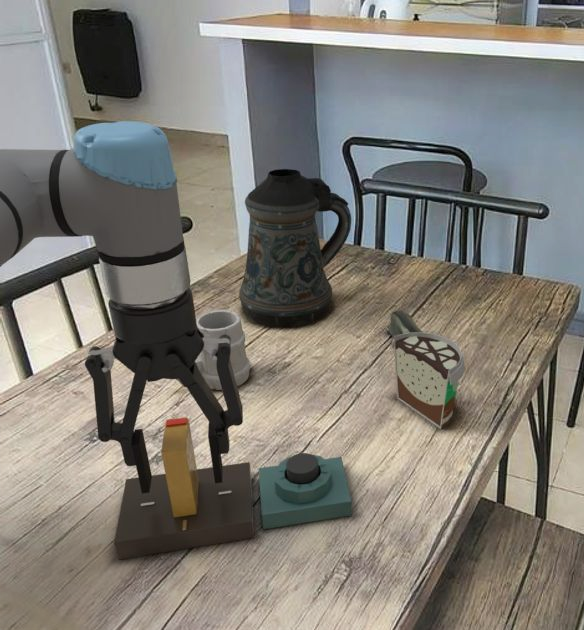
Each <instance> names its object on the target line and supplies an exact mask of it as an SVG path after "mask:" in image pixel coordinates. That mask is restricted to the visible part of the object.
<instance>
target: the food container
mask: <svg viewBox="0 0 584 630" xmlns="http://www.w3.org/2000/svg"><path fill="white" fill-rule="evenodd" d="M391 349H393V351H394V352H393V353H394V368H395V383H396V397H397V400H398V401H399V402H401V403H402V404H404V405H406V406H407V407H409V408H410V409H412V410H413V411H414V412H415V413H417V414H418V415H420V416H421V417H422V418H424V419H425V420H427V421H429V422H430V423H431V424H433V425H434V426H436V427H437V428H438V429H440V430H443V428H445V427H446V426H448V425H449V423H450V422H451V421H452V419H453V415H454V408H455V402H456V397H457V392H458V391H457V390H458V385H459V381H460V380H461V378H462V377H463V376H464V373H465V371H466V364H465V358H464V355H463V352H462V350H461V348H460V346H459V345H458V344H457V343H456V342H455V341H453V340H452V339H450V338H448V337H445V336H443V335H440V334H437V333H431V332H424V331H423V332H414V333H405V334H400V335H397V336H394V337H393V339H392V341H391Z"/></svg>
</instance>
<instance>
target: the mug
mask: <svg viewBox="0 0 584 630" xmlns="http://www.w3.org/2000/svg"><path fill="white" fill-rule="evenodd" d="M196 322H197V327H198V329H199V330H200V332H201V333H202V334H203V336H204V337H209V338H219V337H220V336H221V335H224V334H226V335H228V336H230V338H231V353H230V361H231V365H232V369H233V373H234V377H235V380H236V384H237V387H239V386H241V385H243V384H244V383H246V381H247V380H248V379H249V377H250V370H251V362H250V359H249V357H248V356H247V350H246V345H245V343H246V333H245V331H244V330H243V325H242V317H241V316H240V315H239V314H238V313H237V312H236V311H233V310H226V309H225V310H224V309H218V310H212V311H208V312H205V313H203V314H201V315H200V316H198V317H196ZM195 362H196V364H197V366H198V369H199V371H200V373H201V375H202V376H203V378H204V379H205V381H206V383H207V384H208V386H209V387H210V389H211V390H217V391H222V387H221V383H220V380H219V376H218V373H217V366H216V363H217V361H213V360H212V359H210V357H209V354H208V352H207V351H205V350H202V351H201V353H200V354H199V356H198V357H197V359H196V360H195ZM175 380H176V381H177V382H178V383H179V384H180V385H181V386H183V384H182V383H181V381H180V380H179V379H175Z"/></svg>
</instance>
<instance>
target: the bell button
mask: <svg viewBox="0 0 584 630" xmlns="http://www.w3.org/2000/svg"><path fill="white" fill-rule="evenodd" d="M293 455H294V456H293ZM293 455H291V456H292V457H291V456H289V457H290V458H289V457H288V458H289V459H288V458H287V459H288V461H287V463H286V468H287V478H288V480H289V481H290V482H292V483H294V484H298V485H303V484H309V483H311V482H313V481H315V480H316V478H317V477H318V474H319V471H318V460H317V458H316V457H315V456H314V455H315V454H311V453H308V452H299V453H296V454H293Z"/></svg>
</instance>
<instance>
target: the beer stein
mask: <svg viewBox="0 0 584 630" xmlns="http://www.w3.org/2000/svg"><path fill="white" fill-rule="evenodd" d="M244 205H245V208H246V211H247V213H248V215H249V224H248V235H247V236H248V238H247V239H248V240H247V250H246V251H247V253H246V262H245V270H244V274H243V279H242V282H241V285H240V288H239V292H238V298H239V301H240V304H241V308H242V311H243V314H244V316H245V317H246V319H247V320H248V321H249V323H251V324H252V323H253V324H256V325H259V326H263V327H266V328H277V329H278V328H281V329H293V328H296V327H301V326H302V327H303V326H307V325H310V324H313V323H315V322H317V321H319V320H322V319H323V318H324V317H325V316H326V315H327V314H328V313H329V312H330V309H331V303H332V298H333V287H332V285H331V283H330V281H329V279H328V277H327V275H326V272H325V269H324V268H325V267H327V266H328V265H329V264H330V263H331V262H332V260H334V259H335V257H336V256H337V255H338V253H340V251H341V249H342V248H343V246H344V245H345V243H346V241H347V240H348V237H349V235H350V231H351V228H352V215H351V214H352V213H351V210H350V208H349V203H348V201H347V200H346V199H345V198H343V197H341V196H339V194H337V193H335V192H332V190H331V188H330V186H329V185H327V184H326V183H325V181H324V180H323V179H322V178H319V177H311V178H310V177H309V178H307V177H306V176H304V175H302V174H301V171H300V170H297V169H289V168H281V169H280V168H279V169H272V170H270V171H268V174H267V176H266V178H265V179H264V180H262V182H260V183H259V184H258V185H257V186H256V187H255V188H253V189H252V190H251V191H250V192H249V193H248V194H247V196H245V199H244ZM329 211H330V212H333V213H335V215H337V218H338V220H337V221H338V222H337V225H336V226H335V230H334V232H333V233H332V235H331V236H330V237H329V239H328V240H327V241H326V242H325V244H324V245H323V247H321V243H320V238H319V231H318V225H317V222H316V213H317V212H320V213H321V212H329Z"/></svg>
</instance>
